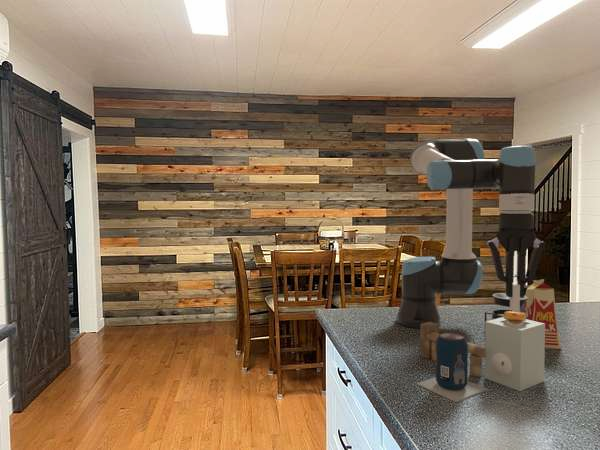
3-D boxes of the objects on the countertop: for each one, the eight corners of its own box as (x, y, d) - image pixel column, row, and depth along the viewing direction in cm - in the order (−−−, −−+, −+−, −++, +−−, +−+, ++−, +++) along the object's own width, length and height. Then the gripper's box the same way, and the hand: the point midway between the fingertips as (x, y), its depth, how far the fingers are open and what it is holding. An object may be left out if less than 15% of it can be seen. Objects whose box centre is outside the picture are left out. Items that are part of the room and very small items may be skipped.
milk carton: (561, 348, 126) (563, 280, 125) (527, 347, 128) (528, 280, 127) (550, 339, 135) (551, 275, 134) (518, 337, 137) (519, 274, 136)
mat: (417, 384, 102) (417, 383, 102) (447, 374, 108) (447, 373, 108) (456, 402, 93) (456, 401, 93) (487, 390, 99) (487, 388, 99)
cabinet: (479, 380, 105) (479, 322, 104) (508, 369, 111) (509, 315, 110) (514, 393, 97) (515, 332, 96) (544, 381, 103) (545, 323, 103)
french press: (531, 353, 122) (532, 273, 121) (530, 364, 114) (531, 278, 113) (486, 347, 128) (487, 270, 127) (482, 357, 120) (483, 275, 119)
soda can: (444, 377, 106) (445, 329, 105) (472, 385, 101) (473, 335, 100) (430, 386, 101) (430, 335, 100) (458, 395, 96) (459, 342, 95)
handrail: (419, 355, 122) (420, 324, 121) (430, 352, 124) (430, 321, 123) (481, 379, 105) (481, 342, 105) (492, 375, 107) (492, 339, 107)
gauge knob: (499, 342, 105) (499, 313, 105) (510, 338, 107) (511, 310, 107) (518, 347, 101) (518, 317, 100) (529, 344, 103) (530, 314, 103)
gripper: (490, 213, 100) (488, 313, 102) (552, 212, 97) (549, 315, 99) (483, 212, 108) (482, 305, 109) (541, 211, 105) (539, 307, 106)
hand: (514, 310), depth 104 cm, fingers closed
